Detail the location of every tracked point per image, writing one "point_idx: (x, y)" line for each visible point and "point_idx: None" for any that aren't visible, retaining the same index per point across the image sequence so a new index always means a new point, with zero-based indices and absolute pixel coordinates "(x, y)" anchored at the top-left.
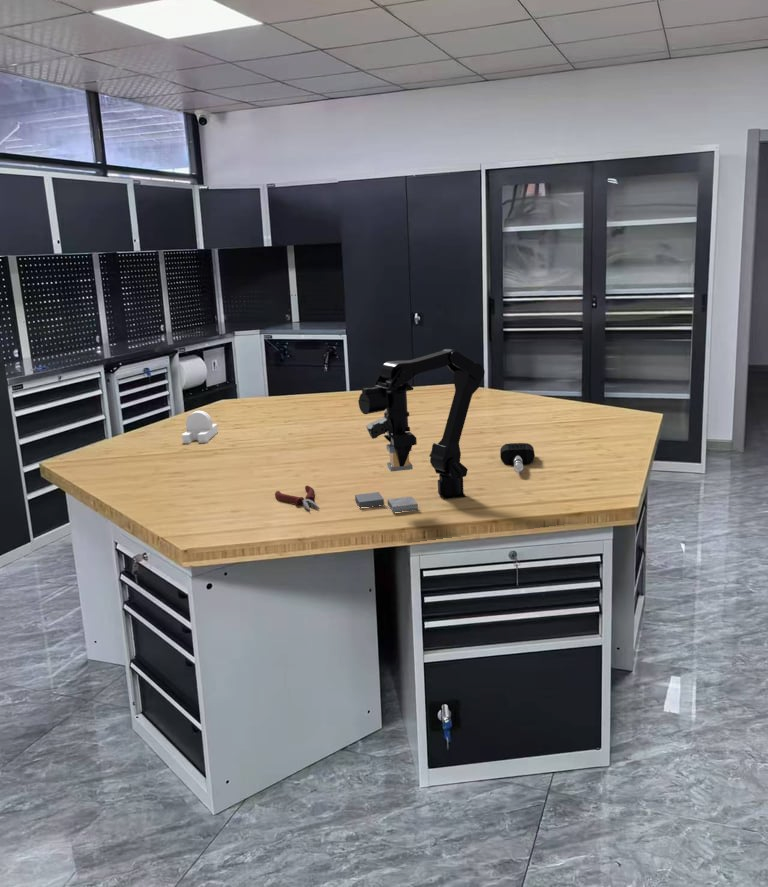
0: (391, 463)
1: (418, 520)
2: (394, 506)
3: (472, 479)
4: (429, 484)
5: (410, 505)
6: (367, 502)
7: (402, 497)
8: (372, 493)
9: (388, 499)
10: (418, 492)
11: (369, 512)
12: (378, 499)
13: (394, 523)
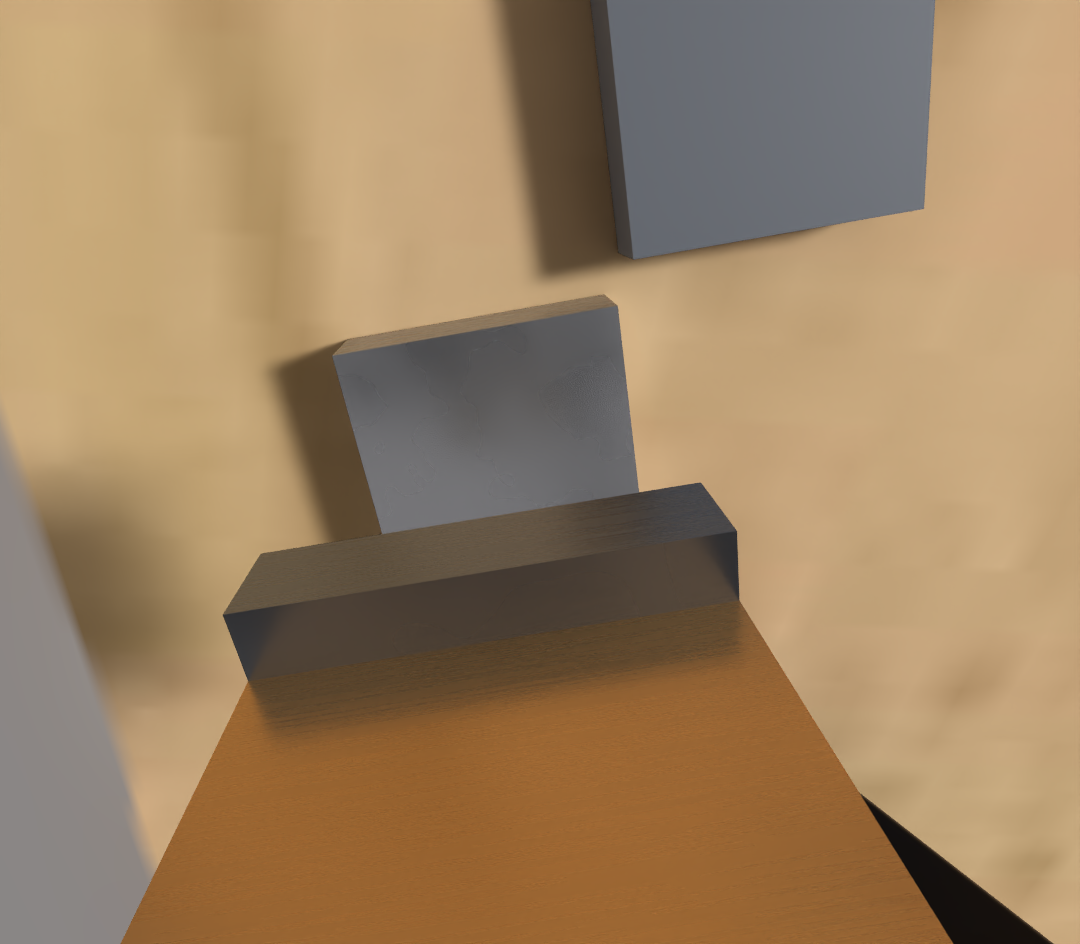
0: (548, 645)
1: (143, 555)
2: (342, 373)
3: (1027, 922)
4: (1073, 674)
5: (384, 531)
6: (608, 34)
7: (634, 469)
8: (900, 121)
9: (606, 316)
10: (907, 586)
11: (432, 63)
12: (637, 192)
13: (48, 337)
